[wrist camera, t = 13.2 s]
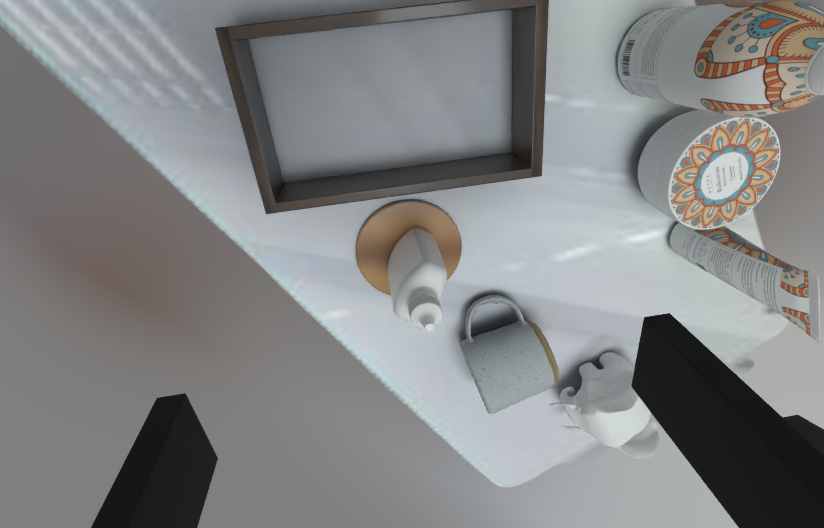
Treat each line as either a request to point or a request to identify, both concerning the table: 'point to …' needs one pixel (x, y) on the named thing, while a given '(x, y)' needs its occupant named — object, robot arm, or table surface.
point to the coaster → (391, 226)
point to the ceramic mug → (508, 359)
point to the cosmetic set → (726, 131)
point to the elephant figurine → (611, 408)
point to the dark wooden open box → (520, 164)
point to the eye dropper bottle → (417, 279)
